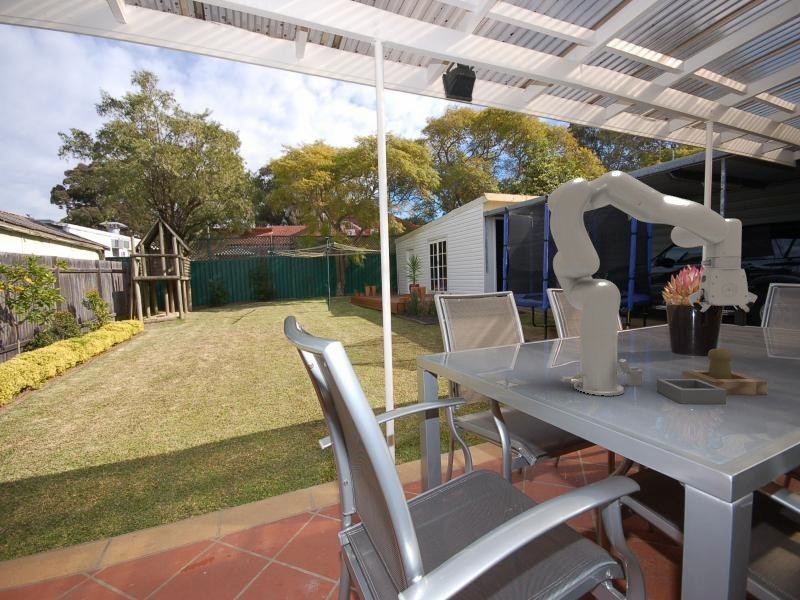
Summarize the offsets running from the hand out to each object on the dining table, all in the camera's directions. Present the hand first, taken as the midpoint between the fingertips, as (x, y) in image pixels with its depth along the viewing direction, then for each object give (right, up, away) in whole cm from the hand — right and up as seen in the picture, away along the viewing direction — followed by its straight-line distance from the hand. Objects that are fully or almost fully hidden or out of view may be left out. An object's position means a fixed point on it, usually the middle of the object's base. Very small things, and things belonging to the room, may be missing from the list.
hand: (721, 325), depth 105 cm
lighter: (-22, -18, +6) cm, 29 cm away
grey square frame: (-14, -18, -7) cm, 24 cm away
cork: (0, -18, +1) cm, 18 cm away
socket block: (+1, -18, +1) cm, 18 cm away
